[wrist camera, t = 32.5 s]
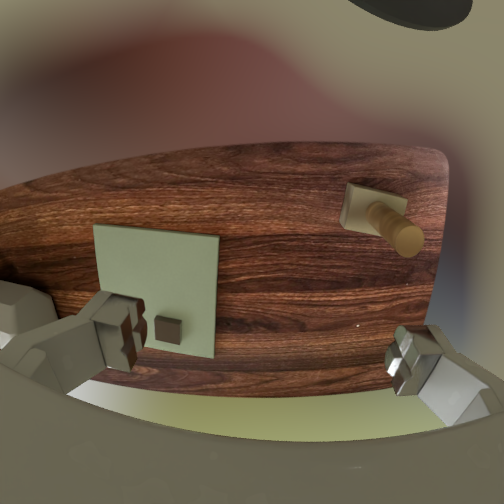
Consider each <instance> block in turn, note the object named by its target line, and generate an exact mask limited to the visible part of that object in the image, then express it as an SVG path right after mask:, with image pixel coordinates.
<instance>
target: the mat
mask: <svg viewBox="0 0 504 504" xmlns="http://www.w3.org/2000/svg"><path fill="white" fill-rule="evenodd" d="M93 232H94V242H95V251H96V260H97V267H98V274H99V281H100V287H101V290H104V291H109V292H113V293H119V294H123V295H128V296H133V297H138V298H142V299H143V300H144V303H145V312H144V313H143V315H142V316H143V317H144V319H145V320H146V321H147V327H148V330H147V338H146V343H145V345H144V346H145V347H150V348H155V349H160V350H166V351H171V352H177V353H182V354H188V355H194V356H201V357H208V358H214V356H215V325H216V299H217V277H218V258H219V240H220V236H218V235H209V234H199V233H190V232H180V231H170V230H160V229H150V228H140V227H129V226H119V225H108V224H97V223H95V224H94V225H93ZM156 315H158V316H163V317H168V318H173V319H178V320H182V341H181V343H180V345H176V344H171V343H167V342H162V341H158V340H155V332H154V318H155V316H156Z"/></svg>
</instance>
